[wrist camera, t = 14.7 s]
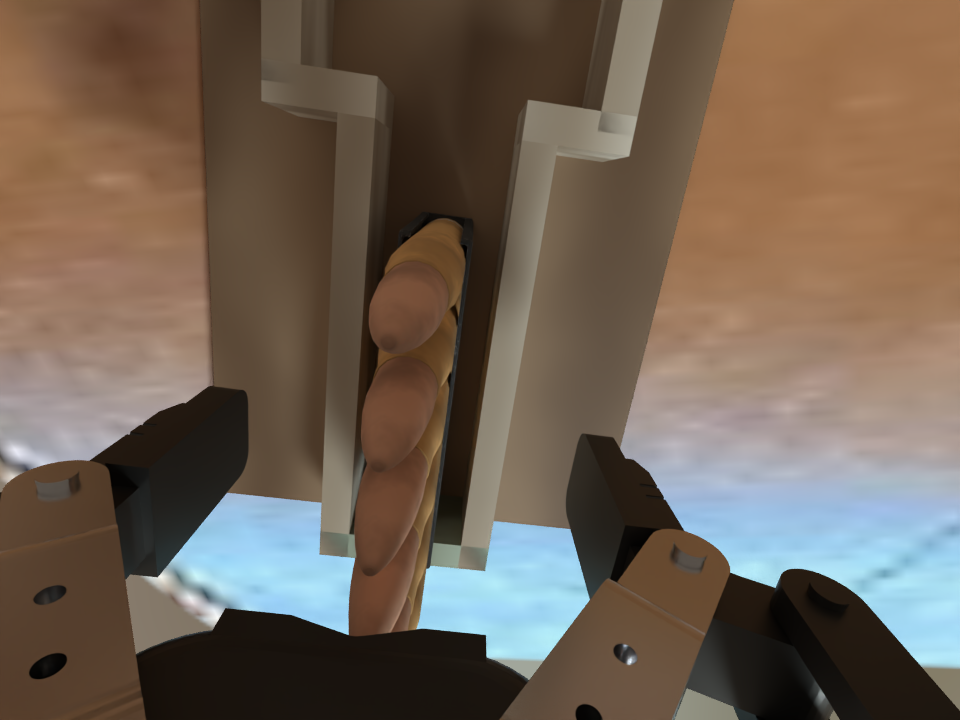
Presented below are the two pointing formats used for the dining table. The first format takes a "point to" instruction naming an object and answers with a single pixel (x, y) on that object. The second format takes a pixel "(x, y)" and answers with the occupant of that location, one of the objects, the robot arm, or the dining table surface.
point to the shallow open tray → (450, 191)
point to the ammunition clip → (407, 420)
